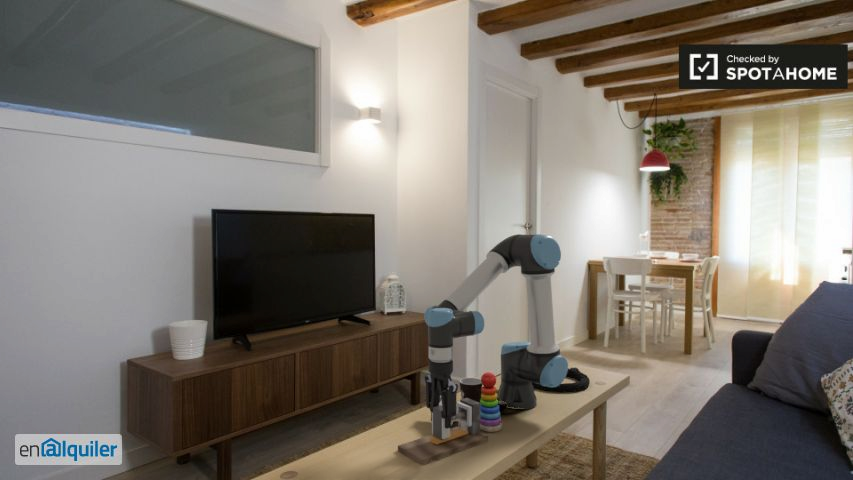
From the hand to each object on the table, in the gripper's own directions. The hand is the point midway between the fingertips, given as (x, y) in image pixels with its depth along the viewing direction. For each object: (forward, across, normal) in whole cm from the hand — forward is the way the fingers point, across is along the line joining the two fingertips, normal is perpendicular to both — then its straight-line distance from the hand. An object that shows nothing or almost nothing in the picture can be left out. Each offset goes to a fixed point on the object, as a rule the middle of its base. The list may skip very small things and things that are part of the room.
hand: (440, 435), depth 156 cm
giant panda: (+4, -14, +13) cm, 19 cm away
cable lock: (+4, -19, +81) cm, 83 cm away
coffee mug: (+4, -18, +29) cm, 34 cm away
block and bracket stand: (+2, 0, +4) cm, 4 cm away
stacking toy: (+4, -1, +22) cm, 22 cm away
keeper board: (+4, 0, +1) cm, 4 cm away
